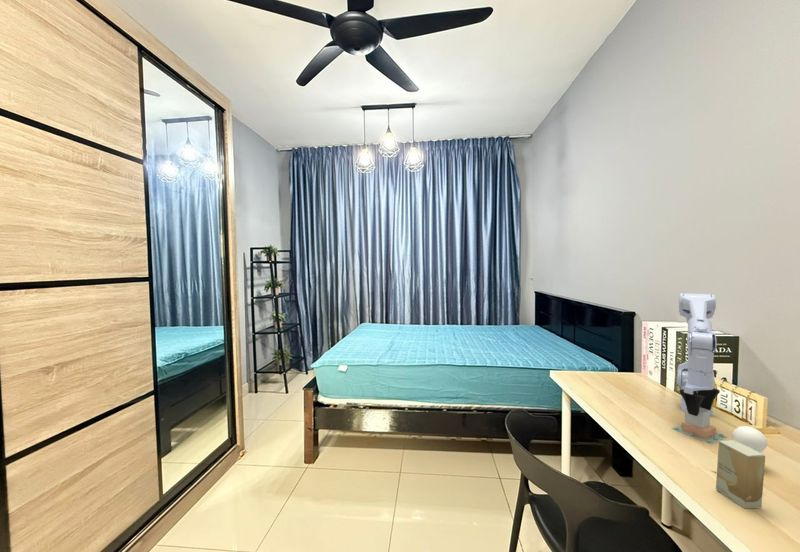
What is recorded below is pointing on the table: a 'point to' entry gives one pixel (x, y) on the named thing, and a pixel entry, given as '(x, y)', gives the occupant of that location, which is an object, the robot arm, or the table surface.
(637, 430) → the table surface
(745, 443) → the lightbulb
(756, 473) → the skincare box
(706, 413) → the grey brick
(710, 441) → the build plate
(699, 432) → the base brick
